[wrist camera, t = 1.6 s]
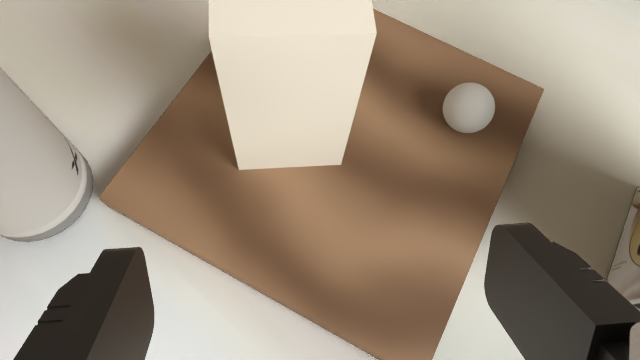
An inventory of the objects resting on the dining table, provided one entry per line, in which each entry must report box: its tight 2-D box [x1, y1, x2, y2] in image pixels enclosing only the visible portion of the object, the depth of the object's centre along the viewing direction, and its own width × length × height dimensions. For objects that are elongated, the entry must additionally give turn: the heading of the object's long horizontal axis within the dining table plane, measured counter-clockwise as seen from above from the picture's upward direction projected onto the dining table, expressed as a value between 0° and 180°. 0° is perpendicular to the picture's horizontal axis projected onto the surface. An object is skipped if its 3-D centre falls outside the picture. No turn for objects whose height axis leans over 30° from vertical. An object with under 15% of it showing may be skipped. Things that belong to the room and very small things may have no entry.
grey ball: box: [443, 83, 495, 133], centre depth 29 cm, size 3×3×3 cm
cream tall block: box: [209, 0, 377, 170], centre depth 24 cm, size 5×6×12 cm
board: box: [98, 9, 544, 360], centre depth 30 cm, size 20×20×2 cm
